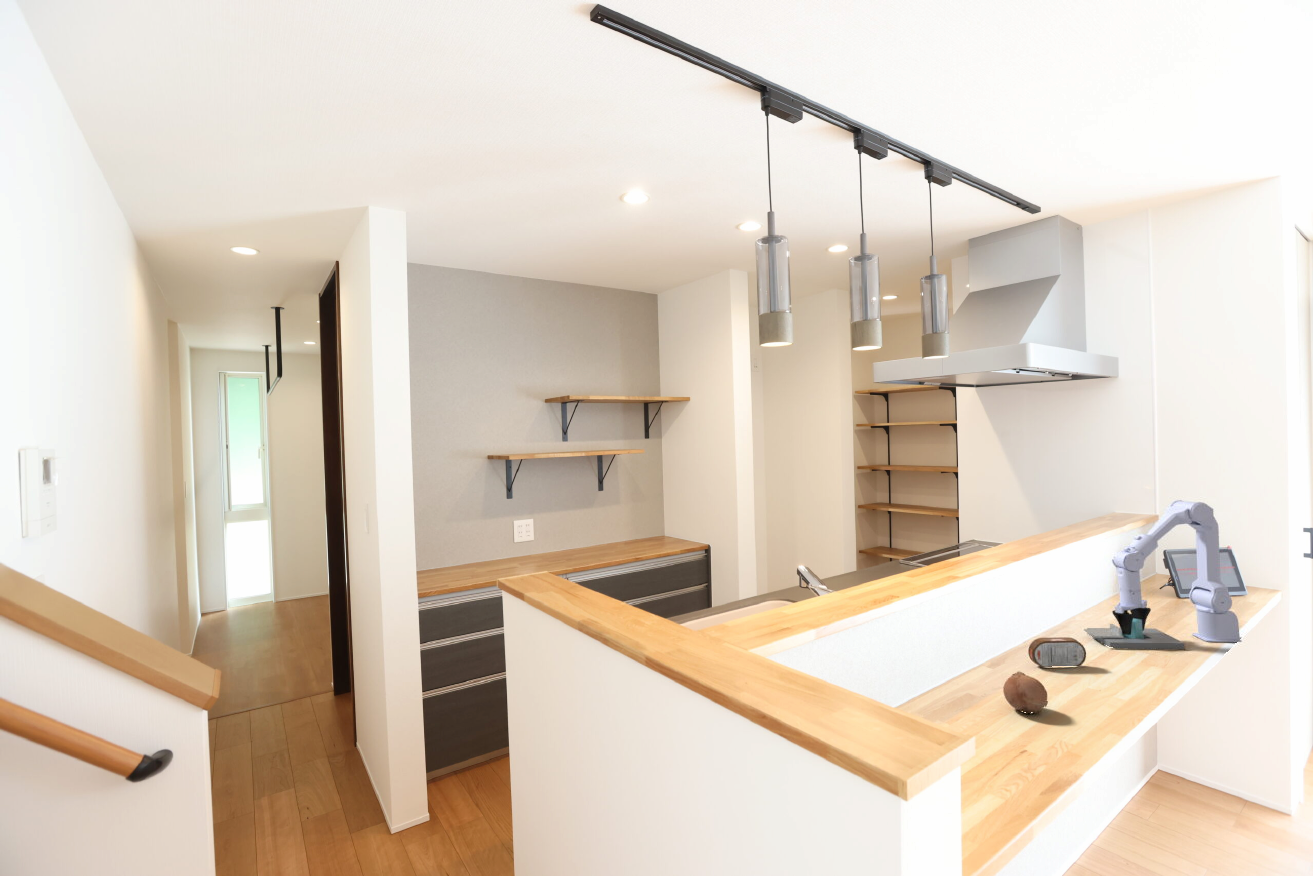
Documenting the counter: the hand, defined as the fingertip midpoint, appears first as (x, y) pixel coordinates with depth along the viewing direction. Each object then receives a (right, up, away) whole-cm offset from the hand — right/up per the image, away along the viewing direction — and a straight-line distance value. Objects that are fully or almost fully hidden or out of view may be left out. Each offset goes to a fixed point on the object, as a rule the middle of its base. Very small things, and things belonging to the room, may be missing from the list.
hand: (1133, 632), depth 202 cm
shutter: (-8, -1, +2) cm, 9 cm away
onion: (-62, -5, -47) cm, 77 cm away
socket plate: (0, -3, 0) cm, 3 cm away
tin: (-36, -5, -19) cm, 41 cm away
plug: (0, -3, 0) cm, 3 cm away
